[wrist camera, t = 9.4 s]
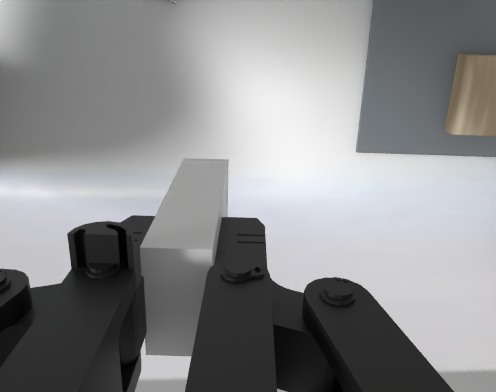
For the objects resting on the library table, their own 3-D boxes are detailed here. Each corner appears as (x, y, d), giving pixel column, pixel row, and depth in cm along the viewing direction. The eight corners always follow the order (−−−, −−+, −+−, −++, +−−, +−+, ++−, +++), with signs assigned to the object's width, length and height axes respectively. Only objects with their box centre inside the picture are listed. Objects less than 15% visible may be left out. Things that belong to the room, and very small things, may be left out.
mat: (356, 151, 46) (357, 152, 45) (386, -110, 38) (388, -112, 37) (558, 157, 46) (561, 158, 45) (630, -102, 38) (635, -104, 37)
